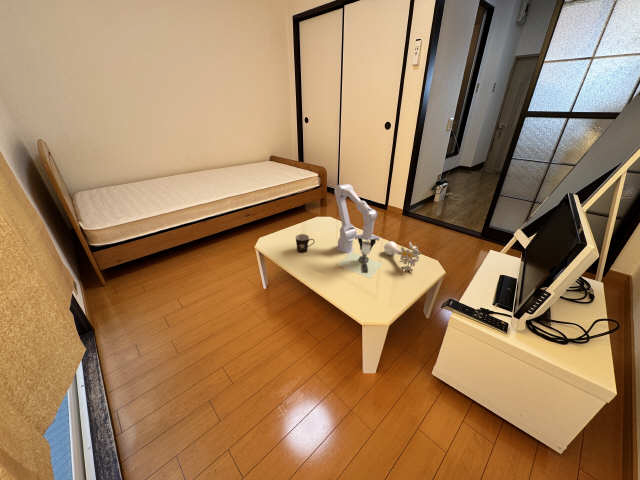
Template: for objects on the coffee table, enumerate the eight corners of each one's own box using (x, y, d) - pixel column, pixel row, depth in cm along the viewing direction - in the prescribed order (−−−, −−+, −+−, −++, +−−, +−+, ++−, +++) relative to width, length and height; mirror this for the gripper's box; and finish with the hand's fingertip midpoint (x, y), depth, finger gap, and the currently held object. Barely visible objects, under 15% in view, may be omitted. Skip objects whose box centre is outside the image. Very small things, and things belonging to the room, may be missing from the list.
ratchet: (370, 272, 143) (371, 266, 141) (360, 272, 144) (361, 265, 141) (368, 258, 157) (368, 252, 155) (358, 257, 157) (359, 251, 155)
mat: (337, 265, 150) (337, 264, 149) (351, 252, 163) (351, 252, 163) (370, 278, 139) (370, 278, 139) (382, 264, 152) (382, 263, 152)
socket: (361, 253, 149) (362, 245, 146) (360, 249, 153) (361, 240, 151) (369, 254, 149) (370, 245, 146) (368, 249, 153) (369, 241, 150)
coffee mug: (293, 252, 161) (293, 238, 156) (299, 246, 168) (299, 233, 163) (309, 256, 158) (309, 242, 153) (314, 249, 165) (315, 236, 160)
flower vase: (382, 263, 165) (407, 276, 143) (378, 238, 159) (403, 248, 137) (398, 256, 169) (425, 268, 146) (394, 231, 163) (422, 240, 140)
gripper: (356, 232, 141) (353, 252, 147) (381, 233, 140) (378, 253, 147) (355, 226, 147) (353, 246, 154) (379, 228, 146) (376, 247, 153)
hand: (365, 249), depth 151 cm, fingers closed on socket, 5 cm apart
